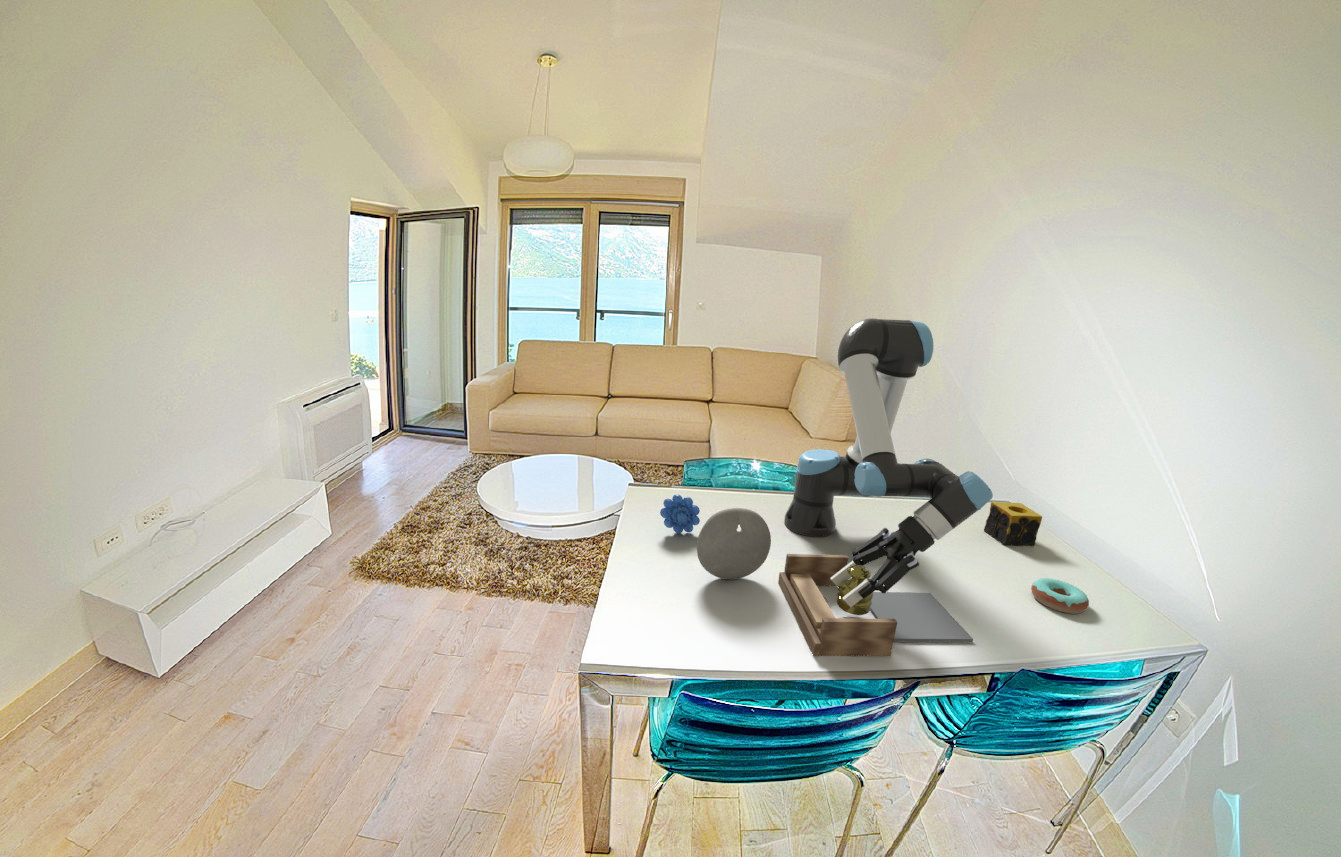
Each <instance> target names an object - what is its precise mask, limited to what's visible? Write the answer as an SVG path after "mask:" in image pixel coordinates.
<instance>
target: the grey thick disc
mask: <svg viewBox="0 0 1341 857" xmlns="http://www.w3.org/2000/svg"><path fill="white" fill-rule="evenodd" d="M739 527H740V530H738V528H739ZM771 539H772V537H771V532H770V528H769V526H768V524H767V522H766V520H765V519H764V518H763V517H762V515H760V514H759V513H758V512H756V511H753V510H752V509H747V508H743V507H733V508H732V507H731V508H726V509H722V510H720V511H717V512H716V513H714V514H712V515H711V516H710V517H709V518H708V519H707V520H706V521H705V523H704V524H703V526H702V528H701V529H700V531H699V535H698V537H697V541H696V553H697V554H696V555H697V558H698V561H699V563H700V565H701V567H702V568H703V569H704V570H705V571H706V572H707V573H709V575H712V576H713V577H716V578H720V579H723V580H738V579H742V578H745V577H748V576H749V575H751V574H753V573H755V572H756V571H757V570H759V569H760V568H761V566H763V564H764V563H765V562H766V560H767V558H768V556H769V553H770V550H771V544H772V540H771Z"/></svg>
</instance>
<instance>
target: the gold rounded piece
mask: <svg viewBox="0 0 1341 857" xmlns="http://www.w3.org/2000/svg"><path fill="white" fill-rule="evenodd" d="M847 571H848V573H849V574H850V575H851V578H850V579H848V580H846V581H843V582H841V583H840V585H839V587H838V592H837V594H836V596H837V598H836V604H837V606H838V608H840V609H841V610H842V611H843V612H845V613H847V614H850V615H855V616H863V615H867V614H869V613H870V612H871V611H870V608H871V604H872V598H873V593H871V594H870V595H869V596H867V597H866V598H864V599H861V600H860V601H859V602H857V603H856V604H855V605H853V606H852V607H850V606H849V605H848V604H847V603H846V602H845V601H844V599H843V597H844V596H845V595H846V594H848V593H849V592H850V591H852V590H853V589H854V588H856V587H857V586H858V585H859V584H861V583H862V582H863V581H865V580H866V579H868V578H869V579H870V578H871V576H872V572H871V571H870V569H868V568H867V567H865V566H864V565H863V566H861V565H852V566H849V567H848V569H847Z"/></svg>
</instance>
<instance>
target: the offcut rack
mask: <svg viewBox="0 0 1341 857" xmlns="http://www.w3.org/2000/svg"><path fill="white" fill-rule="evenodd" d="M848 563H849V556H848V555H847V554H814V553H813V554H812V553H811V554H810V553H809V554H806V553H805V554H803V553H799V554H798V553H786V558H785V566H784V572H783V571H779V574H778V581H777V583H778V586H779V588H780V591H781V592H782V594H783V596H784V598H785V601H786V603H787V605H788V606H789V609H790V611H791V613H792V615H793V617H794V619H795V621H796V623H797V624H798V628H799V630H800V632H801V634H802V635H803V637H804V640H805V642H806V644H807V646H808V648H809V650H810V652H812V653H811V655H812V654H813V655H812V657H891V655H892V652H893V648H894V647H893V646H894V643H895V642H894V637H895V632H896V627H897V621H896V620H895V619H876V618H862V617H861V618H856V617H855V618H843V617H839V618H838V617H836V616H835V614H834V613H833V611H832V609H831V608H830V606H829V604H828V603H827V601H826V600H825V598H824V596H823V594H822V593H821V591H820V589H819V588H818V587H836V588H838V587H837V586H836V585H835V584H834V582H833V581H832V580H831V579H830V578H831V577H832V576H833V575H835V574H836V573H837V572H839V571H840V570H841V569H842V568H843V567H844V566H845V565H846V564H848Z"/></svg>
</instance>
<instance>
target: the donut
mask: <svg viewBox="0 0 1341 857" xmlns="http://www.w3.org/2000/svg"><path fill="white" fill-rule="evenodd" d="M1030 590H1031V594H1032V596H1033V597H1034V598H1035V599H1036V601H1038V602H1039V603H1041V604H1042V605H1043V606H1045V607H1047V608H1049V609H1052V610H1053V611H1058V612H1061V613H1065V614H1081V613H1083V612H1085V611H1086V610H1087V609H1088V607H1089V605H1090V600H1089V598H1088V595H1087V594H1086V593H1085V592H1084V591H1083V590H1081V589H1080V588H1079V587H1077V586H1075V585H1073V584H1071V583H1069V582H1065V581H1063V580H1059V579H1057V578H1056V579H1054V578H1048V577H1046V578H1038V579H1036V580H1035V581H1033V583H1032V585H1031V587H1030Z"/></svg>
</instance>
